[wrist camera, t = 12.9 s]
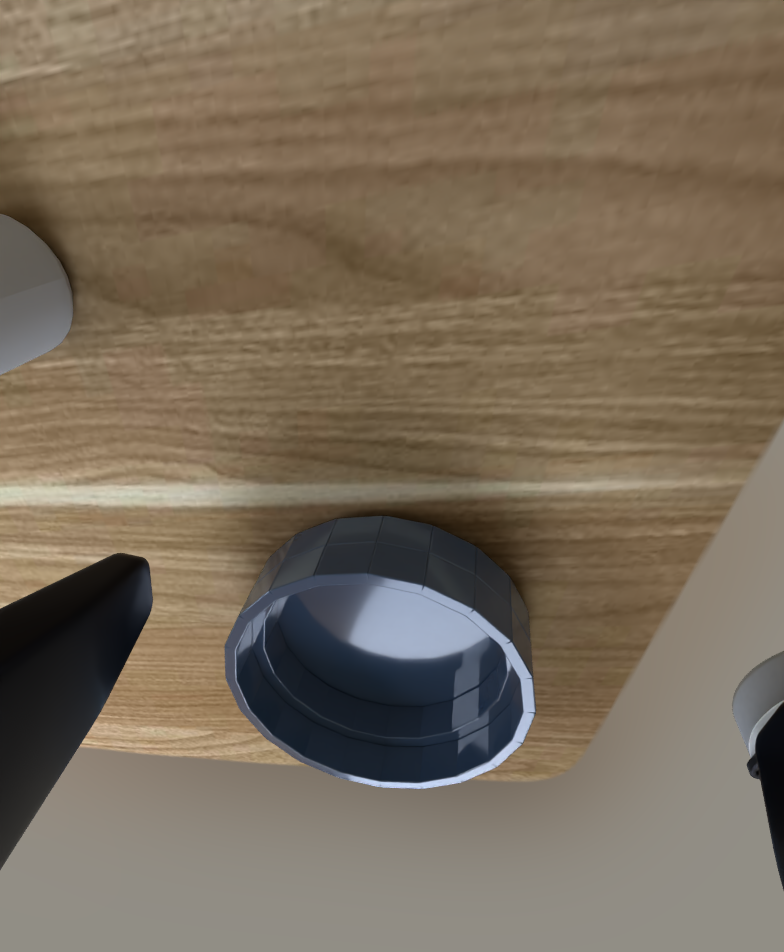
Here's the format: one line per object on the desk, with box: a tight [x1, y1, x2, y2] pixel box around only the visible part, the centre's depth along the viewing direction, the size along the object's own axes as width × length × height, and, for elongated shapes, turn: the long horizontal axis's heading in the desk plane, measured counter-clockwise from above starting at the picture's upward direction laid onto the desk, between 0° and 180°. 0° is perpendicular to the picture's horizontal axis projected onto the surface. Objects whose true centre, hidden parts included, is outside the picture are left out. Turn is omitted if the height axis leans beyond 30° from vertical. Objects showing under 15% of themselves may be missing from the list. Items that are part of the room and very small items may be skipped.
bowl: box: [225, 516, 536, 789], centre depth 24 cm, size 12×12×4 cm
